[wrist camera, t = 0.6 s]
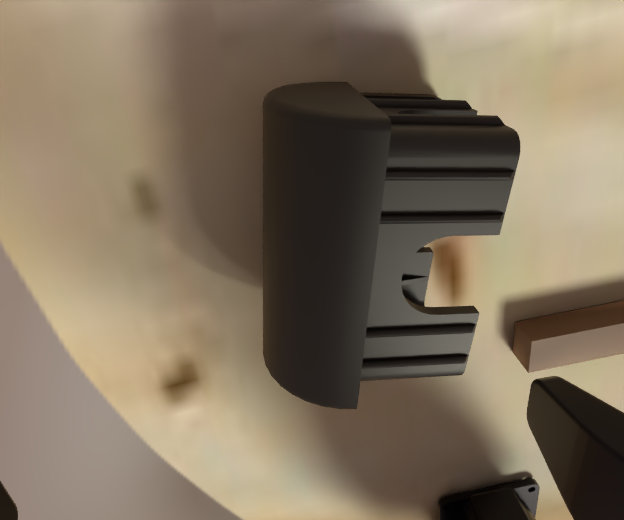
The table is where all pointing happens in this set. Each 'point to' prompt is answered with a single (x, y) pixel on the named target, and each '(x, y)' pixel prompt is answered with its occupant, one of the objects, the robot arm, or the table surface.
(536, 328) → the brown u-shaped frame
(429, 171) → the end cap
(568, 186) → the table surface
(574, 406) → the robot arm
